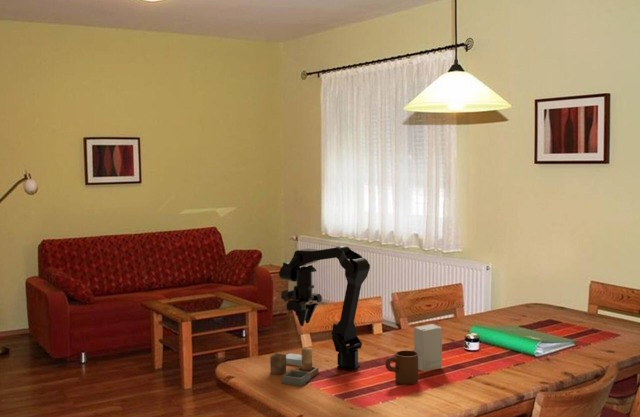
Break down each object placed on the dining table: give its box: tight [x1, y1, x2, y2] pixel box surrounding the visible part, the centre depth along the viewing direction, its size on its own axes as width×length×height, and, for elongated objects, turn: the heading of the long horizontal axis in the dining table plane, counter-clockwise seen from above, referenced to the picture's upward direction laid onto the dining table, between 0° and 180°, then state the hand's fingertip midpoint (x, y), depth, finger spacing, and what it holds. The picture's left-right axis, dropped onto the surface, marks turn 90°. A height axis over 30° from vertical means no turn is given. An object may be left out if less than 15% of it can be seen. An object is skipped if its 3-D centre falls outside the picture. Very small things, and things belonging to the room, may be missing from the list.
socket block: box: [295, 366, 320, 379], centre depth 235 cm, size 6×6×2 cm
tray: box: [281, 369, 312, 387], centre depth 228 cm, size 7×7×2 cm
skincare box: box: [413, 323, 443, 372], centre depth 241 cm, size 8×6×15 cm
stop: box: [269, 352, 287, 376], centre depth 237 cm, size 4×4×6 cm
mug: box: [384, 350, 419, 386], centre depth 226 cm, size 12×8×9 cm, turn 116°
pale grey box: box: [285, 352, 302, 367], centre depth 249 cm, size 8×6×2 cm
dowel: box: [300, 346, 313, 372], centre depth 235 cm, size 4×4×9 cm
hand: (304, 324), depth 256 cm, fingers open, 4 cm apart
